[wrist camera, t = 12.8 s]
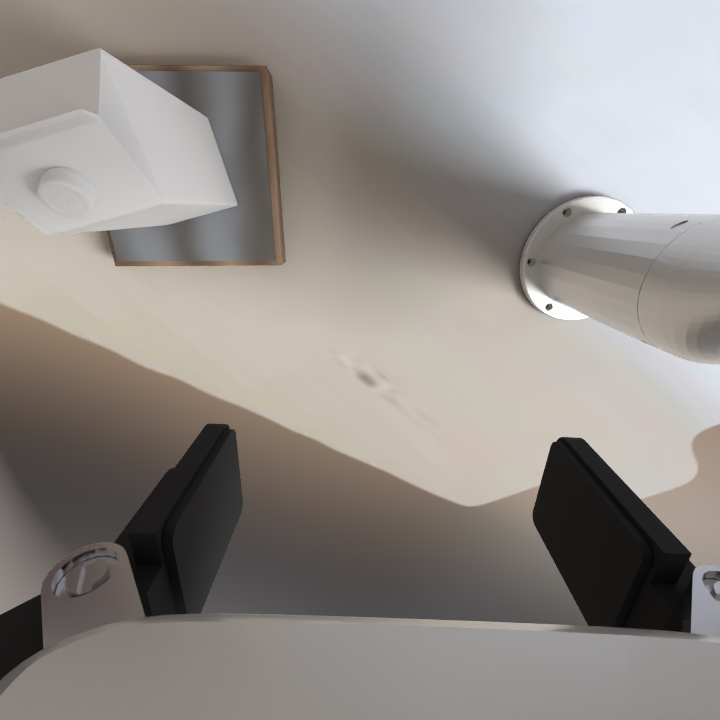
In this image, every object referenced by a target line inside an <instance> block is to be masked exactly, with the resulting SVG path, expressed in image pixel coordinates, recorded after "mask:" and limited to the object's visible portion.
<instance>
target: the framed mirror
mask: <svg viewBox="0 0 720 720" xmlns="http://www.w3.org/2000/svg"><path fill="white" fill-rule="evenodd" d="M127 66H129V67H130V68H132V69H133V70H135V71H136V72H138V73H139V74H141V75H143V76H144V77H146V78H147V79H149V80H150V81H152V82H153V83H155V84H156V85H158V86H160V87H161V88H163V89H164V90H166V91H167V92H169V93H170V94H172V95H173V96H175V97H177V98H178V99H180V100H181V101H183V102H184V103H186V104H187V105H189V106H190V107H192V108H193V109H195V110H197V111H198V112H200V113H201V114H203V115H204V116H206V117H207V118H208V120H209V123H210V126H211V128H212V131H213V134H214V137H215V140H216V143H217V146H218V149H219V152H220V154H221V157H222V160H223V163H224V166H225V169H226V172H227V175H228V178H229V181H230V183H231V186H232V189H233V192H234V195H235V198H236V201H237V204H238V205H237V206H234V207H231V208H228V209H224V210H220V211H217V212H213V213H209V214H206V215H202V216H199V217H195V218H191V219H188V220H184V221H180V222H177V223H173V224H169V225H162V226H151V227H140V228H129V229H118V230H107V233H108V237H109V241H110V245H111V250H112V254H113V258H114V262H115V266H225V265H282V264H283V263H285V262H286V261H285V248H284V234H283V220H282V207H281V193H280V179H279V166H278V152H277V138H276V125H275V111H274V97H273V84H272V76H271V74H270V72H269V70H268V69H267V67H266V66H197V65H127Z"/></svg>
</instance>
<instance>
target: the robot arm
mask: <svg viewBox="0 0 720 720" xmlns="http://www.w3.org/2000/svg"><path fill="white" fill-rule="evenodd" d="M563 211H565V213H564V214H563ZM617 212H618V213H617ZM529 259H530V262H529V263H527V262H528V260H529ZM520 280H521V285H522V288H523V290H524V293H525V295H526V297H527V298H528V300H529V301H530V302H531V304H532V305H534V306H535V307H536V308H537V309H538V310H540V311H541V312H543V313H545V314H547V315H549V316H551V317H554V318H557V319H563V320H578V319H584V318H588V317H589V318H592V319H594V320H596V321H598V322H600V323H603V324H605V325H607V326H609V327H611V328H614V329H616V330H618V331H620V332H623V333H625V334H627V335H629V336H631V337H634V338H636V339H638V340H640V341H642V342H645V343H647V344H649V345H651V346H654V347H656V348H658V349H661V350H663V351H665V352H668V353H670V354H672V355H674V356H677V357H679V358H682V359H685V360H688V361H692V362H697V363H703V364H720V215H705V214H645V213H634V212H633V210H632V209H631V208H630V207H629V206H627V205H626V204H624V203H623V202H621V201H620V200H617V199H614V198H611V197H606V196H585V197H580V198H575V199H573V200H570V201H568V202H565V203H563V204H561V205H560V206H558V207H556V208H555V209H553V210H552V211H550V212H549V213H548V214H547V215H546V216H545V217H544V218H542V219H541V221H540V222H539V223H538V224H537V225H536V227H535V228H534V229H533V231H532V232H531V234H530V236H529V238H528V239H527V241H526V244H525V246H524V249H523V251H522V256H521V261H520ZM546 305H547V306H546ZM545 306H546V307H545ZM242 500H243V499H242V490H241V480H240V470H239V460H238V451H237V441H236V432H235V430H233V429H232V430H231V429H230V428H229V426H228V425H227V424H207V425H206V426H205V427H204V428H203V430H202V431H201V433H200V434H199V435H198V437H197V438H196V439H195V441H194V442H193V444H192V445H191V446H190V448H189V449H188V450H187V452H186V453H185V455H184V456H183V457H182V459H181V460H180V461H179V463H178V464H177V466H176V467H175V468H172V469H170V470H169V471H168V472H167V473H166V474H165V475H164V477H163V478H162V479H161V480H160V482H159V483H158V485H157V486H156V487H155V489H154V490H153V491H152V493H151V494H150V495H149V497H148V498H147V499H146V501H145V502H144V503H143V505H142V506H141V507H140V509H139V510H138V511H137V513H136V514H135V515H134V517H133V518H132V519H131V521H130V522H129V523H128V525H127V526H126V527H125V529H124V530H123V532H122V533H121V534H120V535H119V537H118V538H117V539H116V541H115V542H114V543H109V542H104V543H96V544H92V545H89V546H86V547H83V548H81V549H79V550H77V551H75V552H73V553H71V554H69V555H68V556H67V557H65V558H64V559H63V560H61V561H60V562H58V563H57V564H56V565H55V567H53V569H52V570H51V571H50V572H49V573H48V574H47V576H46V578H45V579H44V581H43V583H42V588H41V594H40V595H38V596H36V597H34V598H32V599H30V600H29V601H27V602H25V603H23V604H21V605H19V606H17V607H15V608H13V609H11V610H9V611H7V612H5V613H3V614H1V615H0V720H720V567H719V566H715V565H700V566H698V567H697V568H696V567H695V566H694V565H693V564H692V563H691V562H690V561H689V558H690V556H691V553H690V552H689V551H688V550H687V548H686V547H685V546H684V545H683V544H682V543H681V542H680V541H679V540H678V539H677V538H676V537H675V536H674V535H673V534H672V532H671V531H670V530H669V529H668V528H667V527H666V526H665V525H664V524H663V523H662V522H661V521H660V520H659V519H658V518H657V517H656V516H655V514H653V512H652V511H651V510H650V509H649V508H648V507H647V506H646V505H645V504H644V503H643V502H642V501H641V500H640V499H639V497H638V496H637V495H636V494H635V493H634V492H633V491H632V490H631V489H630V488H629V487H628V486H627V485H626V484H625V483H624V482H623V480H622V479H621V478H620V477H619V476H618V475H617V474H616V473H615V472H614V471H613V470H612V469H611V468H610V467H609V466H608V465H607V464H606V462H605V461H604V460H603V459H602V458H601V457H600V456H599V455H598V454H597V453H596V452H595V451H594V450H593V449H592V448H591V447H590V446H589V444H588V443H587V442H586V441H585V440H583V439H582V438H570V437H561V438H559V439H558V440H557V442H553V443H552V445H551V448H550V451H549V455H548V458H547V462H546V466H545V469H544V473H543V477H542V480H541V484H540V488H539V491H538V495H537V499H536V502H535V506H534V509H533V521H534V524H535V526H536V528H537V530H538V532H539V534H540V536H541V538H542V540H543V542H544V543H545V545H546V547H547V549H548V551H549V553H550V555H551V557H552V558H553V560H554V562H555V564H556V566H557V568H558V570H559V572H560V573H561V575H562V577H563V579H564V581H565V583H566V585H567V587H568V588H569V590H570V592H571V594H572V596H573V598H574V600H575V601H576V603H577V605H578V607H579V609H580V611H581V613H582V615H583V616H584V618H585V620H586V622H587V624H588V626H576V625H575V626H574V625H552V624H530V623H506V622H481V621H480V622H479V621H453V620H427V619H426V620H425V619H398V618H370V617H338V616H337V617H336V616H304V615H272V614H201V611H202V609H203V606H204V604H205V601H206V599H207V596H208V594H209V592H210V589H211V587H212V584H213V582H214V579H215V577H216V574H217V571H218V569H219V567H220V564H221V562H222V559H223V557H224V554H225V552H226V549H227V547H228V544H229V542H230V539H231V536H232V534H233V532H234V529H235V527H236V525H237V522H238V520H239V517H240V514H241V511H242V505H243V501H242Z"/></svg>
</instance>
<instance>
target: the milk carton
mask: <svg viewBox="0 0 720 720" xmlns="http://www.w3.org/2000/svg"><path fill="white" fill-rule="evenodd" d="M0 200H1V201H2V202H3V203H5V204H6V205H7V206H8V207H10V208H11V209H12V210H13V211H15V212H16V213H17V214H18V215H20V216H21V217H22V218H23V219H25V220H26V221H27V222H28V223H30V224H31V225H32V226H33V227H35V228H36V229H37V230H38V231H40V232H41V233H42V234H44V235H63V234H74V233H85V232H96V231H107V230H118V229H129V228H140V227H151V226H162V225H169V224H173V223H177V222H180V221H184V220H188V219H191V218H195V217H199V216H202V215H206V214H209V213H213V212H217V211H220V210H224V209H228V208H231V207H234V206H237V205H238V204H237V201H236V198H235V195H234V192H233V189H232V186H231V183H230V181H229V178H228V175H227V172H226V169H225V166H224V163H223V160H222V157H221V154H220V152H219V149H218V146H217V143H216V140H215V137H214V134H213V131H212V128H211V126H210V123H209V120H208V118H207V117H206V116H204V115H203V114H201V113H200V112H198V111H197V110H195V109H193V108H192V107H190V106H189V105H187V104H186V103H184V102H183V101H181V100H180V99H178V98H177V97H175V96H173V95H172V94H170V93H169V92H167V91H166V90H164V89H163V88H161V87H160V86H158V85H156V84H155V83H153V82H152V81H150V80H149V79H147V78H146V77H144V76H143V75H141V74H139V73H138V72H136V71H135V70H133V69H132V68H130V67H129V66H127V65H126V64H124V63H122V62H121V61H119V60H118V59H116V58H115V57H113V56H112V55H110V54H109V53H107V52H105V51H104V50H102V49H101V48H97V49H93V50H90V51H86V52H83V53H80V54H77V55H73V56H70V57H67V58H64V59H61V60H57V61H54V62H51V63H48V64H45V65H41V66H38V67H35V68H32V69H29V70H25V71H22V72H19V73H16V74H13V75H9V76H6V77H3V78H0Z"/></svg>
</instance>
